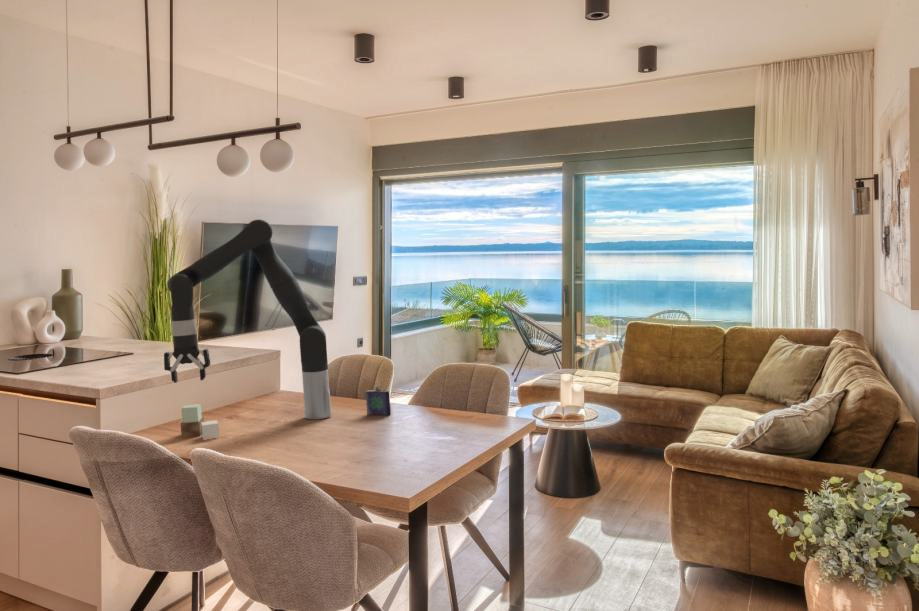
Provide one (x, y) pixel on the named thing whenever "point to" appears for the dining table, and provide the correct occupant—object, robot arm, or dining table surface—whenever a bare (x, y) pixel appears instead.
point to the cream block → (210, 430)
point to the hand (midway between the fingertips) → (189, 381)
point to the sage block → (191, 413)
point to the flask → (378, 402)
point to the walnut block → (191, 429)
